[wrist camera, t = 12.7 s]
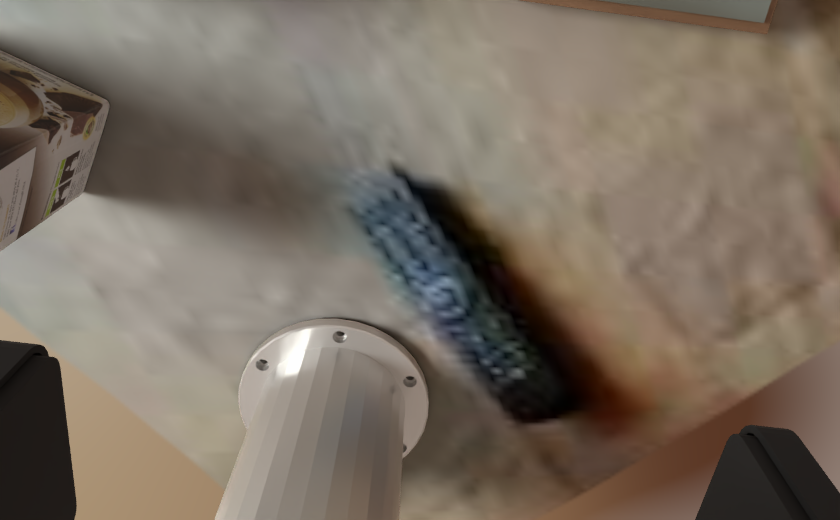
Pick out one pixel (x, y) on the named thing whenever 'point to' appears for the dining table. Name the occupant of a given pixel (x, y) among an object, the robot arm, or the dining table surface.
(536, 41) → the dining table surface
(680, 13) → the stand
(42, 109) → the coffee box
